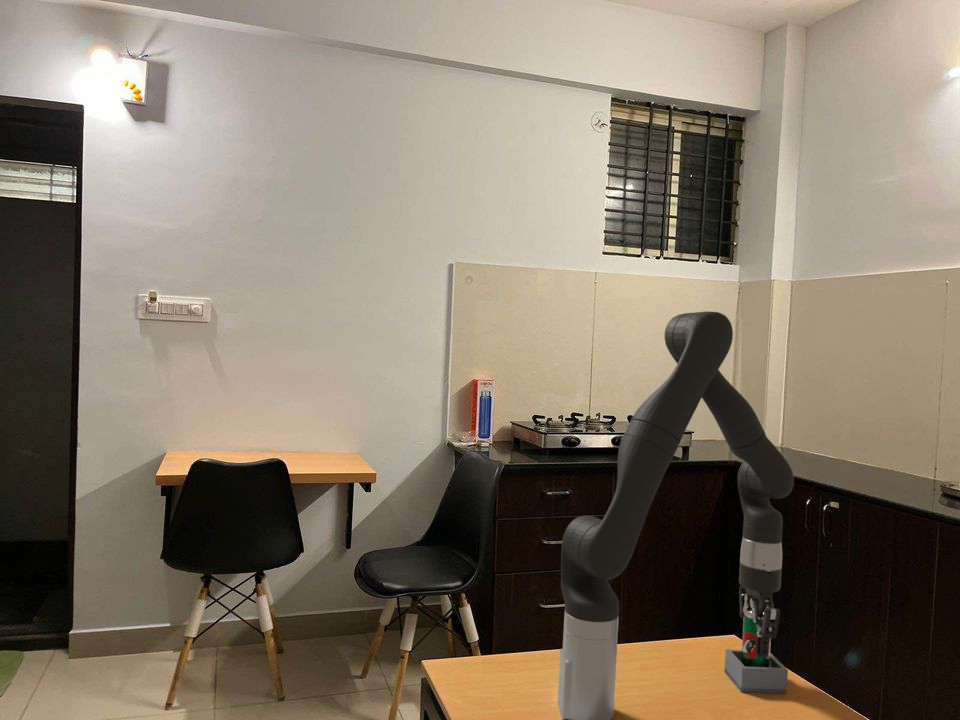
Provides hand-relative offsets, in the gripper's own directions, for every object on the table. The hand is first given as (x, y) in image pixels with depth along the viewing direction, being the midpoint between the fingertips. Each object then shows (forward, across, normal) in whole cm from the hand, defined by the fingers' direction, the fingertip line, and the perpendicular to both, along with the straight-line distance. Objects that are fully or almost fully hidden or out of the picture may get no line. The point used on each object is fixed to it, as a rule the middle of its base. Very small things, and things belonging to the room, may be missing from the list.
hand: (755, 649), depth 140 cm
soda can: (+5, 0, 0) cm, 5 cm away
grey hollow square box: (+6, 0, 0) cm, 6 cm away
